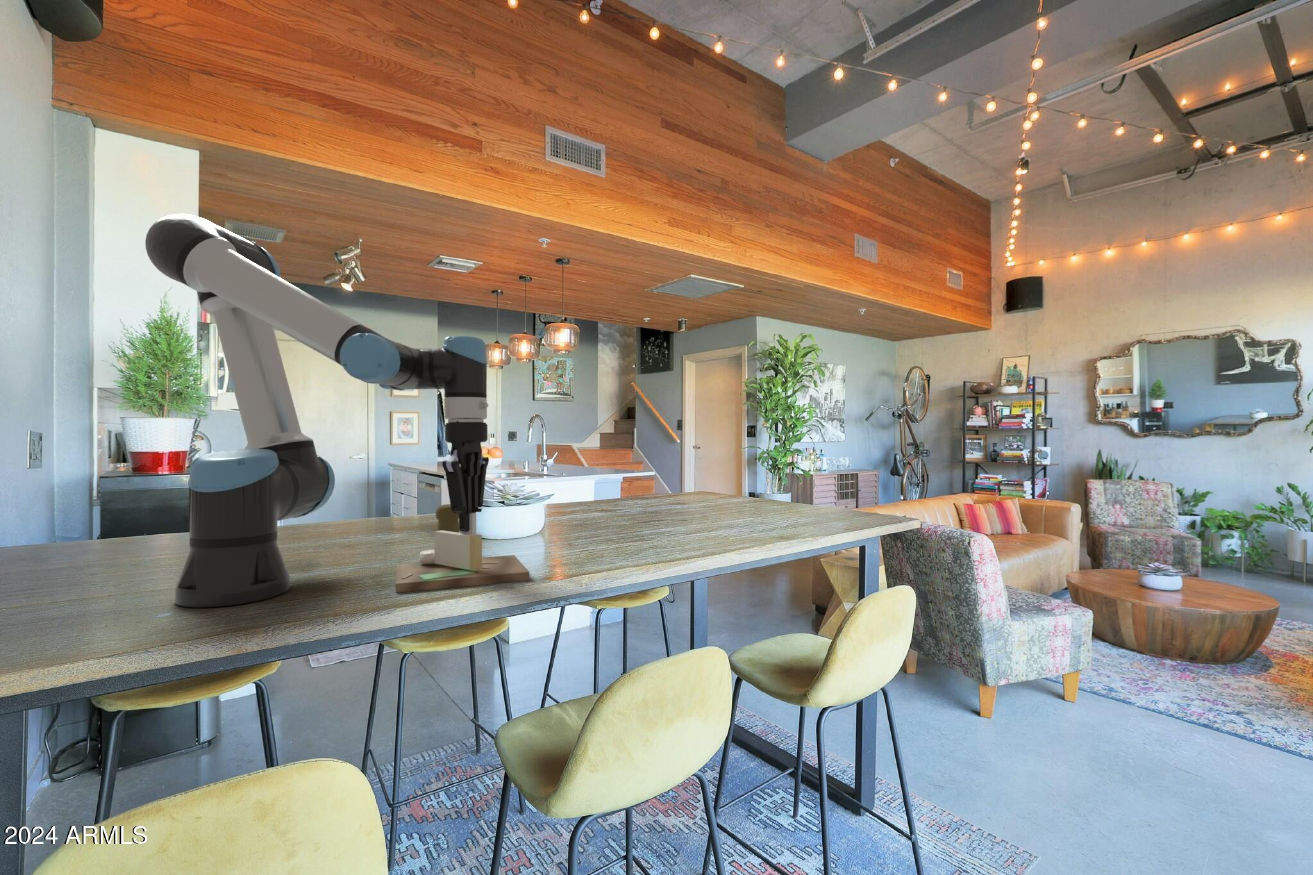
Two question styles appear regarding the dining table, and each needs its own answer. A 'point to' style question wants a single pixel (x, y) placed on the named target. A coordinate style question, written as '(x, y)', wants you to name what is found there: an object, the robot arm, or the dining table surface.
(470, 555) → the cream block with knob
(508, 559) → the brown flat wooden board
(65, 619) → the dining table surface
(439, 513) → the cork
